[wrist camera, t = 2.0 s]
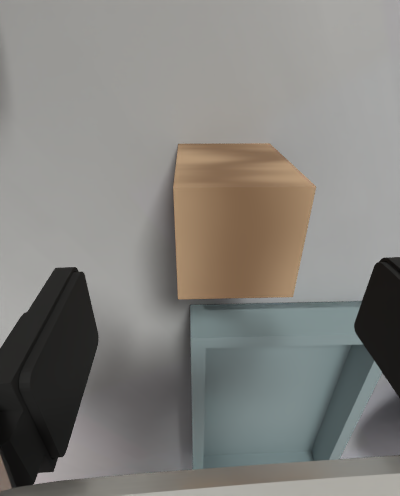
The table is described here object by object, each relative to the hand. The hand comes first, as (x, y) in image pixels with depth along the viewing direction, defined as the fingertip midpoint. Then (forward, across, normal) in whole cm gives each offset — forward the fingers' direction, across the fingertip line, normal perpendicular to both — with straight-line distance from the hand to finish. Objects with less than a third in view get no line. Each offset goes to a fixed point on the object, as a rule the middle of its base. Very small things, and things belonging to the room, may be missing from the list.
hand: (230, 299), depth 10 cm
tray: (+10, -6, +19) cm, 22 cm away
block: (+9, -1, -1) cm, 9 cm away
